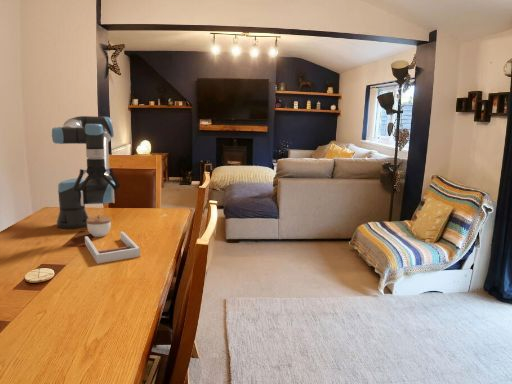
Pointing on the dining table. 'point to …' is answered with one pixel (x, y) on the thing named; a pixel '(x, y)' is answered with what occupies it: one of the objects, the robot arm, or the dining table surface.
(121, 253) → the channel
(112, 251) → the tray
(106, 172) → the robot arm
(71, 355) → the dining table surface
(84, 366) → the dining table surface
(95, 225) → the lidded jar
